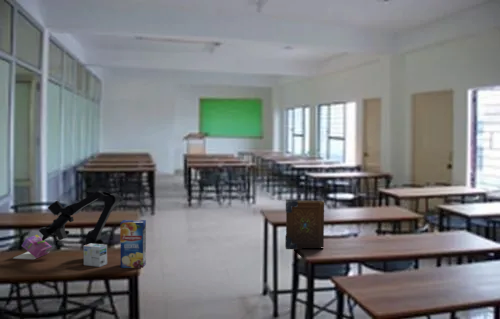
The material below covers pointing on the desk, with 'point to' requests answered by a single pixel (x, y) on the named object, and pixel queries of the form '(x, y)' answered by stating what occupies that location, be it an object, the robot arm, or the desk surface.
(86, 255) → the light bulb box
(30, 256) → the mat
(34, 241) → the box
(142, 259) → the juice carton
